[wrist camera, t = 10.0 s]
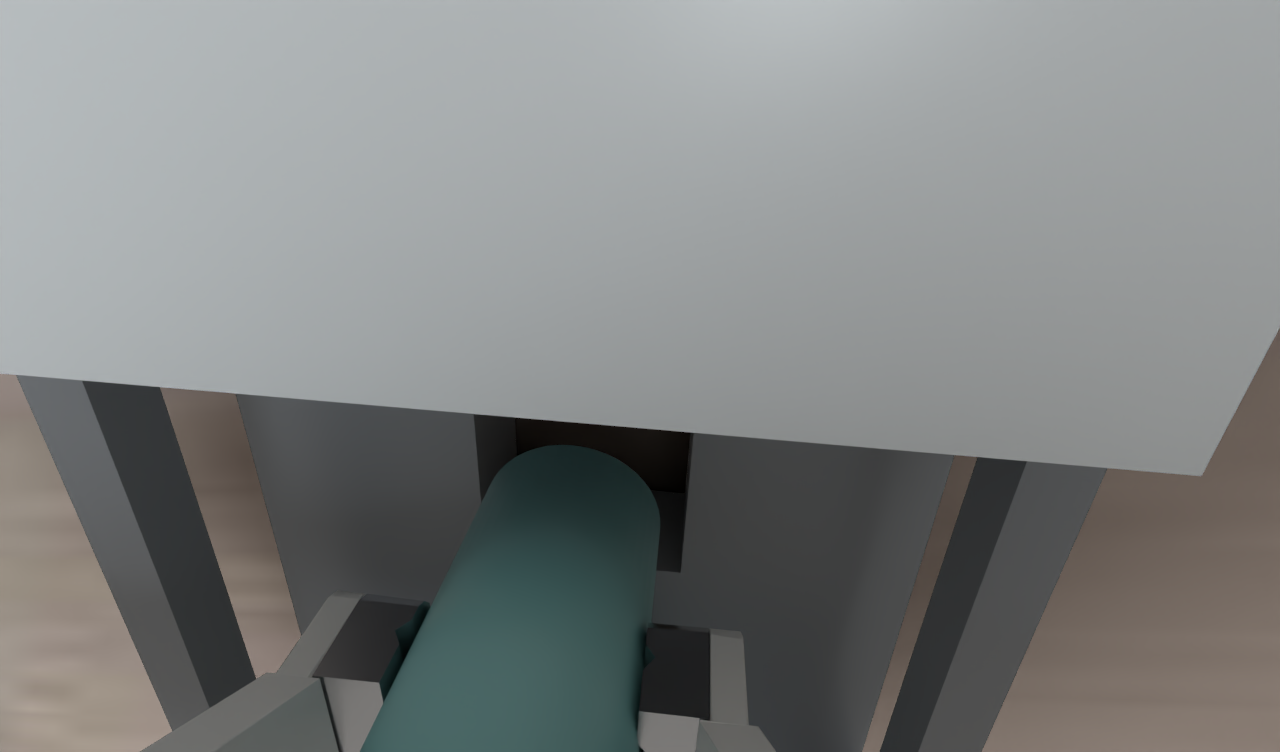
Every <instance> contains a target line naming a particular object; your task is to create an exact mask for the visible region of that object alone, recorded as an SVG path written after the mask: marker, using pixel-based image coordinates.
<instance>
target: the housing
mask: <svg viewBox="0 0 1280 752" xmlns="http://www.w3.org/2000/svg"><path fill="white" fill-rule="evenodd" d="M16 376H17V378H18V380H19V383H20V385H21V387H22V390H23V392H24V394H25V396H26V399H27V401H28V403H29V405H30V408H31V410H32V412H33V415H34V417H35V419H36V421H37V424H38V426H39V428H40V430H41V433H42V435H43V437H44V440H45V442H46V444H47V446H48V449H49V451H50V453H51V456H52V458H53V460H54V462H55V465H56V467H57V469H58V471H59V474H60V476H61V478H62V481H63V483H64V485H65V487H66V490H67V492H68V494H69V496H70V499H71V501H72V503H73V506H74V508H75V510H76V512H77V515H78V517H79V519H80V522H81V524H82V526H83V528H84V531H85V533H86V535H87V537H88V540H89V542H90V544H91V547H92V549H93V551H94V553H95V556H96V558H97V560H98V562H99V565H100V567H101V569H102V572H103V574H104V576H105V578H106V581H107V583H108V585H109V588H110V590H111V592H112V594H113V597H114V599H115V601H116V603H117V606H118V608H119V610H120V613H121V615H122V617H123V619H124V622H125V624H126V626H127V628H128V631H129V633H130V635H131V638H132V640H133V642H134V644H135V647H136V649H137V651H138V654H139V656H140V658H141V660H142V663H143V665H144V667H145V669H146V672H147V674H148V676H149V679H150V681H151V683H152V685H153V688H154V690H155V692H156V694H157V697H158V699H159V701H160V704H161V706H162V708H163V710H164V713H165V715H166V717H167V720H168V722H169V724H170V726H171V729H172V731H174V730H176V729H177V728H179V727H180V726H182V725H184V724H185V723H187V722H188V721H190V720H192V719H193V718H195V717H196V716H198V715H200V714H201V713H203V712H204V711H206V710H208V709H209V708H211V707H212V706H214V705H216V704H217V703H219V702H220V701H222V700H224V699H225V698H227V697H228V696H230V695H232V694H233V693H235V692H236V691H238V690H240V689H241V688H243V687H244V686H246V685H248V684H249V683H251V682H253V681H254V680H256V677H255V674H254V671H253V668H252V665H251V662H250V659H249V656H248V653H247V650H246V647H245V644H244V641H243V638H242V635H241V632H240V629H239V626H238V623H237V620H236V617H235V614H234V611H233V608H232V605H231V602H230V599H229V596H228V593H227V590H226V587H225V584H224V580H223V577H222V574H221V571H220V568H219V565H218V562H217V559H216V556H215V553H214V550H213V547H212V544H211V541H210V538H209V535H208V532H207V529H206V526H205V523H204V520H203V517H202V514H201V511H200V508H199V505H198V502H197V499H196V496H195V493H194V490H193V487H192V484H191V481H190V478H189V475H188V472H187V469H186V466H185V462H184V459H183V456H182V453H181V450H180V447H179V444H178V441H177V438H176V435H175V432H174V429H173V426H172V423H171V420H170V417H169V414H168V411H167V408H166V405H165V402H164V399H163V396H162V393H161V390H160V387H153V386H142V385H130V384H118V383H107V382H95V381H83V380H72V379H60V378H48V377H36V376H25V375H16ZM236 397H237V401H238V404H239V408H240V412H241V415H242V419H243V423H244V426H245V430H246V434H247V437H248V441H249V445H250V448H251V452H252V456H253V460H254V463H255V467H256V471H257V474H258V478H259V482H260V485H261V489H262V493H263V496H264V500H265V504H266V507H267V511H268V515H269V518H270V522H271V526H272V529H273V533H274V537H275V540H276V544H277V548H278V551H279V555H280V559H281V562H282V566H283V570H284V573H285V577H286V581H287V584H288V588H289V592H290V596H291V599H292V603H293V607H294V610H295V614H296V618H297V621H298V625H299V629H300V632H301V636H302V635H303V633H304V632H305V630H306V629H307V627H308V626H309V625H310V623H311V622H312V620H313V619H314V617H315V616H316V614H317V613H318V611H319V610H320V609H321V607H322V606H323V604H324V603H325V601H326V600H327V598H328V597H329V596H331V595H332V594H333V593H335V592H336V591H346V592H355V593H363V594H374V595H382V596H389V597H397V598H405V599H413V600H421V601H426V602H429V603H430V607H431V605H432V603H433V601H434V599H435V597H436V595H437V593H438V591H439V588H440V586H441V584H442V582H443V580H444V578H445V576H446V574H447V572H448V570H449V568H450V566H451V564H452V562H453V560H454V558H455V556H456V554H457V552H458V550H459V548H460V546H461V544H462V541H463V539H464V537H465V535H466V533H467V531H468V529H469V527H470V525H471V523H472V521H473V519H474V517H475V515H476V513H477V511H478V509H479V507H480V505H481V503H482V501H483V499H484V497H485V494H486V492H487V490H488V488H489V486H490V484H491V482H492V481H493V479H494V477H495V476H496V474H497V473H498V472H499V471H500V469H501V468H502V467H503V466H504V465H506V464H507V463H508V462H509V461H511V460H512V459H513V458H515V457H516V456H517V446H516V427H515V417H504V416H492V415H481V414H469V413H457V412H446V411H434V410H422V409H411V408H399V407H387V406H376V405H364V404H352V403H340V402H329V401H317V400H305V399H294V398H282V397H270V396H259V395H247V394H236ZM953 459H954V455H948V454H937V453H925V452H913V451H902V450H890V449H878V448H867V447H855V446H843V445H831V444H820V443H808V442H796V441H785V440H773V439H761V438H750V437H738V436H726V435H715V434H703V433H691V432H690V443H689V454H688V465H687V476H686V487H685V493H674V492H663V491H652V490H651V492H652V494H653V496H654V498H655V500H656V503H657V506H658V509H659V514H660V536H659V546H658V557H657V567H656V578H655V588H654V599H653V609H652V620H651V623H657V624H668V625H680V626H691V627H702V628H708V629H720V630H731V631H740V632H741V634H742V636H743V643H744V659H745V675H746V691H747V707H748V723H749V725H751V726H758V727H759V728H760V729H761V731H762V732H763V734H764V735H765V737H766V738H767V739H768V741H769V742H770V744H771V745H772V746H773V748H774V749H775V751H776V752H862V750H863V747H864V743H865V740H866V737H867V734H868V731H869V727H870V724H871V721H872V718H873V715H874V711H875V708H876V705H877V702H878V699H879V695H880V692H881V689H882V686H883V683H884V679H885V676H886V673H887V670H888V667H889V663H890V660H891V657H892V654H893V651H894V647H895V644H896V641H897V638H898V635H899V631H900V628H901V625H902V622H903V619H904V615H905V612H906V609H907V606H908V603H909V599H910V596H911V593H912V590H913V587H914V583H915V580H916V577H917V574H918V571H919V567H920V564H921V561H922V558H923V555H924V551H925V548H926V545H927V542H928V539H929V535H930V532H931V529H932V526H933V523H934V519H935V516H936V513H937V510H938V507H939V503H940V500H941V497H942V494H943V491H944V487H945V484H946V481H947V478H948V475H949V471H950V468H951V465H952V462H953ZM1106 470H1107V468H1100V467H1089V466H1077V465H1065V464H1054V463H1042V462H1030V461H1019V460H1007V459H995V458H983V457H978V458H977V461H976V464H975V467H974V470H973V473H972V476H971V479H970V482H969V485H968V488H967V491H966V494H965V497H964V500H963V503H962V506H961V509H960V512H959V515H958V518H957V521H956V524H955V527H954V530H953V533H952V536H951V539H950V542H949V545H948V548H947V551H946V554H945V557H944V560H943V563H942V566H941V569H940V572H939V575H938V578H937V581H936V584H935V587H934V590H933V593H932V596H931V599H930V602H929V605H928V608H927V611H926V614H925V617H924V620H923V623H922V626H921V629H920V632H919V635H918V638H917V641H916V644H915V647H914V651H913V654H912V657H911V660H910V663H909V666H908V669H907V672H906V675H905V678H904V681H903V684H902V687H901V690H900V693H899V696H898V699H897V702H896V705H895V708H894V711H893V714H892V717H891V720H890V723H889V726H888V729H887V732H886V735H885V738H884V741H883V744H882V747H881V750H880V752H982V749H983V747H984V745H985V743H986V740H987V738H988V736H989V734H990V731H991V729H992V727H993V725H994V722H995V720H996V718H997V716H998V713H999V711H1000V709H1001V707H1002V704H1003V702H1004V700H1005V698H1006V695H1007V693H1008V691H1009V689H1010V686H1011V684H1012V682H1013V680H1014V677H1015V675H1016V673H1017V671H1018V668H1019V666H1020V664H1021V662H1022V659H1023V657H1024V655H1025V653H1026V650H1027V648H1028V646H1029V644H1030V641H1031V639H1032V637H1033V635H1034V632H1035V630H1036V628H1037V626H1038V623H1039V621H1040V619H1041V617H1042V614H1043V612H1044V610H1045V608H1046V605H1047V603H1048V601H1049V599H1050V596H1051V594H1052V592H1053V590H1054V587H1055V585H1056V583H1057V581H1058V578H1059V576H1060V574H1061V572H1062V569H1063V567H1064V565H1065V563H1066V560H1067V558H1068V556H1069V554H1070V551H1071V549H1072V547H1073V545H1074V542H1075V540H1076V538H1077V536H1078V533H1079V531H1080V529H1081V527H1082V524H1083V522H1084V520H1085V518H1086V515H1087V513H1088V511H1089V509H1090V506H1091V504H1092V502H1093V500H1094V497H1095V495H1096V493H1097V491H1098V488H1099V486H1100V484H1101V482H1102V479H1103V477H1104V475H1105V473H1106Z"/></svg>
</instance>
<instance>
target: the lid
mask: <svg viewBox="0 0 1280 752" xmlns="http://www.w3.org/2000/svg"><path fill="white" fill-rule="evenodd" d="M1279 328H1280V0H0V373H1V374H13V375H25V376H36V377H48V378H60V379H72V380H83V381H95V382H107V383H118V384H130V385H142V386H153V387H165V388H177V389H188V390H200V391H212V392H224V393H235V394H247V395H259V396H270V397H282V398H294V399H305V400H317V401H329V402H340V403H352V404H364V405H376V406H387V407H399V408H411V409H422V410H434V411H446V412H457V413H469V414H481V415H492V416H504V417H516V418H527V419H539V420H551V421H563V422H574V423H586V424H598V425H609V426H621V427H633V428H644V429H656V430H668V431H679V432H691V433H703V434H715V435H726V436H738V437H750V438H761V439H773V440H785V441H796V442H808V443H820V444H831V445H843V446H855V447H867V448H878V449H890V450H902V451H913V452H925V453H937V454H948V455H960V456H972V457H983V458H995V459H1007V460H1019V461H1030V462H1042V463H1054V464H1065V465H1077V466H1089V467H1100V468H1112V469H1124V470H1135V471H1147V472H1159V473H1171V474H1182V475H1194V476H1202V474H1203V472H1204V470H1205V469H1206V467H1207V465H1208V463H1209V461H1210V459H1211V457H1212V455H1213V453H1214V451H1215V450H1216V448H1217V446H1218V444H1219V442H1220V440H1221V438H1222V436H1223V434H1224V433H1225V431H1226V429H1227V427H1228V425H1229V423H1230V421H1231V419H1232V417H1233V415H1234V414H1235V412H1236V410H1237V408H1238V406H1239V404H1240V402H1241V400H1242V398H1243V396H1244V395H1245V393H1246V391H1247V389H1248V387H1249V385H1250V383H1251V381H1252V379H1253V378H1254V376H1255V374H1256V372H1257V370H1258V368H1259V366H1260V364H1261V362H1262V360H1263V359H1264V357H1265V355H1266V353H1267V351H1268V349H1269V347H1270V345H1271V343H1272V341H1273V340H1274V338H1275V336H1276V334H1277V332H1278V330H1279Z"/></svg>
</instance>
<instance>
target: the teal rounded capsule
mask: <svg viewBox="0 0 1280 752" xmlns="http://www.w3.org/2000/svg"><path fill="white" fill-rule="evenodd" d="M659 536H660V514H659V509H658V506H657V503H656V500H655V498H654V496H653V494H652V492H651V490H650V489H649V487H648V486H647V485H646V483H645V482H644V481H643V480H642V479H641V477H640V476H639V475H638V474H637V473H636V472H634V471H633V470H632V469H631V468H630V467H628V466H627V465H626V464H624V463H623V462H621V461H619V460H618V459H616V458H614V457H612V456H610V455H608V454H606V453H603V452H600V451H598V450H594V449H590V448H587V447H582V446H574V445H551V446H544V447H540V448H535V449H533V450H530V451H527V452H524V453H522V454H520V455H518V456H516V457H515V458H513V459H512V460H511V461H509V462H508V463H507V464H506V465H504V466H503V467H502V468H501V469H500V471H499V472H498V473H497V474H496V476H495V477H494V479H493V481H492V482H491V484H490V486H489V488H488V490H487V492H486V494H485V497H484V499H483V501H482V503H481V505H480V507H479V509H478V511H477V513H476V515H475V517H474V519H473V521H472V523H471V525H470V527H469V529H468V531H467V533H466V535H465V537H464V539H463V541H462V544H461V546H460V548H459V550H458V552H457V554H456V556H455V558H454V560H453V562H452V564H451V566H450V568H449V570H448V572H447V574H446V576H445V578H444V580H443V582H442V584H441V586H440V588H439V591H438V593H437V595H436V597H435V599H434V601H433V603H432V605H431V607H430V609H429V611H428V613H427V615H426V617H425V619H424V621H423V623H422V625H421V627H420V629H419V631H418V633H417V635H416V638H415V640H414V642H413V644H412V646H411V648H410V650H409V652H408V654H407V656H406V658H405V660H404V662H403V664H402V666H401V668H400V670H399V672H398V674H397V676H396V678H395V680H394V682H393V685H392V687H391V689H390V691H389V693H388V695H387V697H386V699H385V701H384V703H383V705H382V707H381V709H380V711H379V713H378V715H377V717H376V719H375V721H374V723H373V725H372V727H371V729H370V732H369V734H368V736H367V738H366V740H365V742H364V744H363V746H362V748H361V750H360V752H639V744H638V739H637V733H638V719H639V706H640V696H641V685H642V675H643V669H644V659H645V646H646V636H647V627H648V623H651V620H652V609H653V599H654V588H655V578H656V567H657V557H658V546H659Z"/></svg>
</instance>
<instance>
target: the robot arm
mask: <svg viewBox="0 0 1280 752" xmlns="http://www.w3.org/2000/svg"><path fill="white" fill-rule="evenodd" d="M429 609H430V603H429V602H426V601H421V600H413V599H405V598H397V597H389V596H382V595H374V594H363V593H355V592H346V591H336V592H335V593H333V594H332V595H331V596H329V597H328V598H327V600H326V601H325V603H324V604H323V606H322V607H321V609H320V610H319V611H318V613H317V614H316V616H315V617H314V619H313V620H312V622H311V623H310V625H309V626H308V627H307V629H306V630H305V632H304V633H303V635H302V636H301V638H300V639H299V641H298V642H297V643H296V645H295V646H294V648H293V649H292V651H291V652H290V654H289V655H288V657H287V658H286V659H285V661H284V662H283V664H282V665H281V667H280V668H279V670H278V671H277V673H265V674H264V675H262V676H261V677H259V678H257V679H256V680H254V681H253V682H251V683H249V684H248V685H246V686H244V687H243V688H241V689H240V690H238V691H236V692H235V693H233V694H232V695H230V696H228V697H227V698H225V699H224V700H222V701H220V702H219V703H217V704H216V705H214V706H212V707H211V708H209V709H208V710H206V711H204V712H203V713H201V714H200V715H198V716H196V717H195V718H193V719H192V720H190V721H188V722H187V723H185V724H184V725H182V726H180V727H179V728H177V729H176V730H174V731H172V732H171V733H169V734H167V735H166V736H164V737H163V738H161V739H159V740H158V741H156V742H155V743H153V744H151V745H150V746H148V747H147V748H145V749H143V750H142V751H140V752H360V750H361V748H362V746H363V744H364V742H365V740H366V738H367V736H368V734H369V732H370V729H371V727H372V725H373V723H374V721H375V719H376V717H377V715H378V713H379V711H380V709H381V707H382V705H383V703H384V701H385V699H386V697H387V695H388V693H389V691H390V689H391V687H392V685H393V682H394V680H395V678H396V676H397V674H398V672H399V670H400V668H401V666H402V664H403V662H404V660H405V658H406V656H407V654H408V652H409V650H410V648H411V646H412V644H413V642H414V640H415V638H416V635H417V633H418V631H419V629H420V627H421V625H422V623H423V621H424V619H425V617H426V615H427V613H428V611H429ZM637 739H638V744H639V752H776V751H775V749H774V748H773V746H772V745H771V744H770V742H769V741H768V739H767V738H766V737H765V735H764V734H763V732H762V731H761V729H760V728H759V727H758V726H751V725H749V723H748V707H747V691H746V675H745V659H744V643H743V636H742V634H741V632H740V631H731V630H720V629H708V628H702V627H691V626H680V625H668V624H657V623H648V627H647V636H646V646H645V659H644V669H643V675H642V685H641V696H640V706H639V719H638V733H637Z"/></svg>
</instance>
